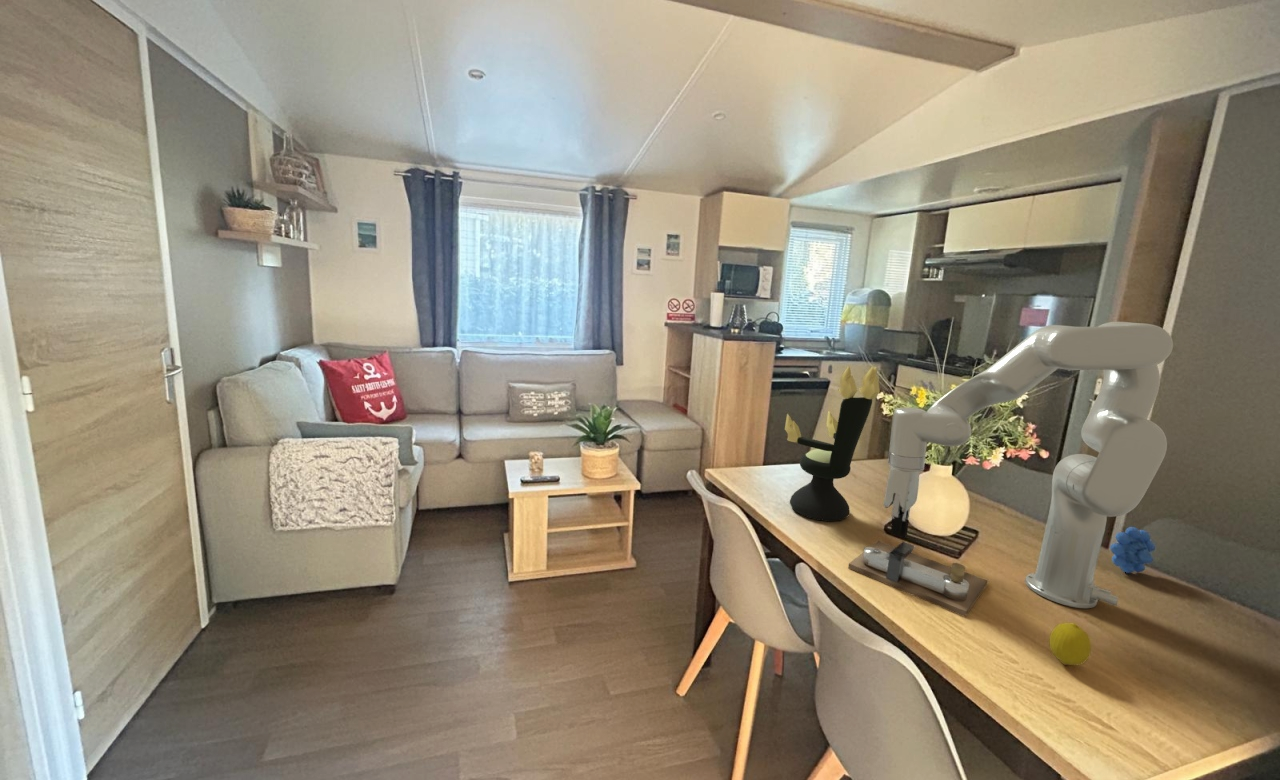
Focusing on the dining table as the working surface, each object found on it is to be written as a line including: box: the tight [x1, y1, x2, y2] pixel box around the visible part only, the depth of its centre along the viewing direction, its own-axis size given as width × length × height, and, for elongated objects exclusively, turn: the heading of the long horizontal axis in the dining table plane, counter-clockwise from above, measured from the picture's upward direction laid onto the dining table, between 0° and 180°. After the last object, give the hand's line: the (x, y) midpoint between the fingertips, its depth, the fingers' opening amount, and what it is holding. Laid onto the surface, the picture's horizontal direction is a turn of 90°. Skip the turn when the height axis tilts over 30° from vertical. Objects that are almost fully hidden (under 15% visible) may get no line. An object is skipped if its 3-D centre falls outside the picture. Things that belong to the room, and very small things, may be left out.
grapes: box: [1109, 526, 1156, 574], centre depth 125 cm, size 12×7×12 cm, turn 98°
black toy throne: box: [784, 365, 880, 522], centre depth 147 cm, size 19×22×45 cm
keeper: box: [886, 541, 915, 583], centre depth 116 cm, size 2×8×6 cm, turn 135°
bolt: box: [862, 546, 969, 600], centre depth 115 cm, size 21×5×3 cm, turn 48°
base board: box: [848, 540, 988, 618], centre depth 118 cm, size 24×18×8 cm
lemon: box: [1049, 622, 1092, 666], centre depth 91 cm, size 6×6×8 cm
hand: (898, 534), depth 124 cm, fingers closed
